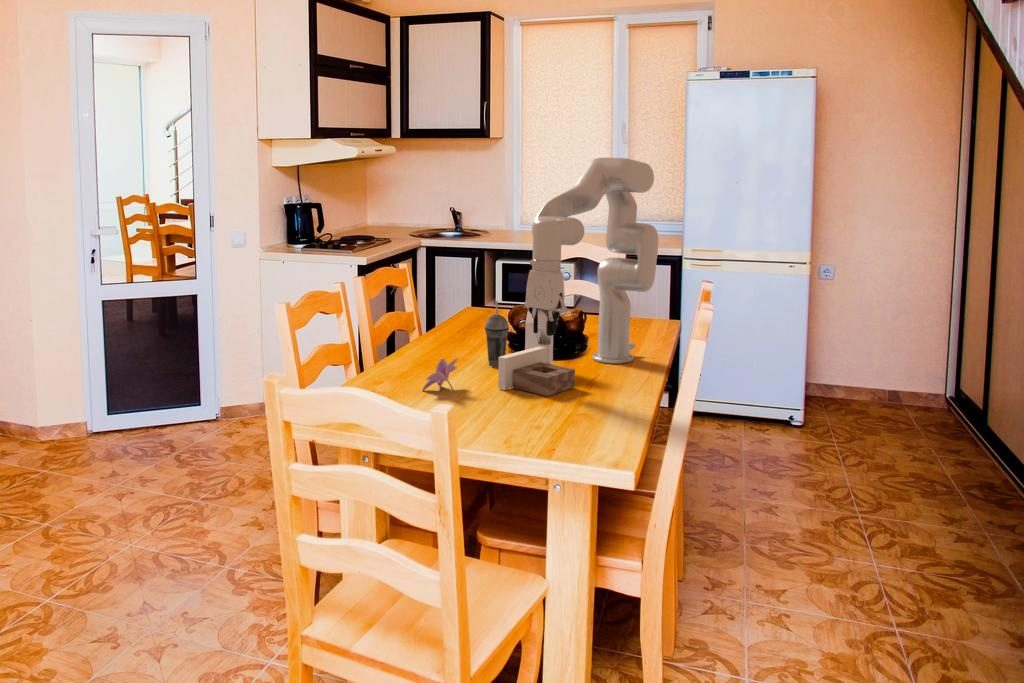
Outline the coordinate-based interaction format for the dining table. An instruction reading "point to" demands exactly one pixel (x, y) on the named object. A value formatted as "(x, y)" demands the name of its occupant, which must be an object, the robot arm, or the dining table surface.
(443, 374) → the lily
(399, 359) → the dining table surface
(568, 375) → the socket block
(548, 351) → the milk carton
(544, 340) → the steel peg
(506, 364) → the backstop wall
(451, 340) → the dining table surface
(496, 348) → the beverage cup
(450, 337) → the dining table surface
